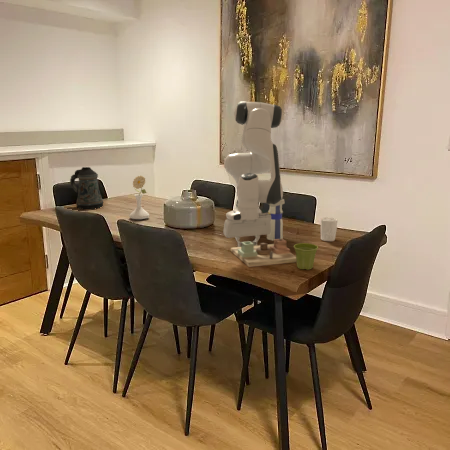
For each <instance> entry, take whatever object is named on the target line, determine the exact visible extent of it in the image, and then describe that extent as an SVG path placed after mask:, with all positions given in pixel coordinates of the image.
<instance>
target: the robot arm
mask: <svg viewBox="0 0 450 450" xmlns="http://www.w3.org/2000/svg"><path fill="white" fill-rule="evenodd" d="M233 115H234V120H235V122H236V124H238V125H242V126H243V129H242V134H241V135H242V136H241V144H242V147H243V148H245V150H248V151H249V152H236V153H235V152H234V153H230V154H227V155H226V157H225V158H224V162H223V167H224V170H225V171H226V172H227V174H229V175H230V176H232V178H233V180H234V182H235V184H236V188H237V190H236V194H237V195H236V197H237V199H236V203H235V208H234V209H233V210H231V211H228V212H226V213H225V216H226V218H225V220H224V223H223V235H224V236H225V237H226V238H227V239H231V238H235V241H236V242H237V247H242V243H241V242H242V241H240V239H241V238H242V237H253V236H254V237H255V238H254V240H252V243H253V244H254V246H257V245H258V242H259V240H260V238H261V236H267V235H268V234H270V233H271V215H270V214H269V213H268V211H267V212H262V210H261V209H260V203H261V204H262V203H264V204H267V205H269V204H276V203H278V202H279V201H280V200H281V199H283V196H284V195H283V194H284V189H283V185H282V181H281V169H280V157H279V152H278V148H277V145H276V144H275V143H273V141H272V137H271V134H272V129H274V128H275V129H276V128H278V127H279V126H280V125H281V122H282V120H283V117H284V115H283V110H282V107H281V105H277V104H272V103H268V102H261V101H246V100H245V101H244V100H243V101H239V102H238V103H237V104H236V106H235V108H234V112H233ZM267 173H270V179H259V176H258V175H263V174H267ZM268 214H269V215H268Z"/></svg>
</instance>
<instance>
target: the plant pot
mask: <svg viewBox="0 0 450 450" xmlns="http://www.w3.org/2000/svg"><path fill="white" fill-rule="evenodd" d="M293 248H294V251H295V256H296V259H297V262H296V266H297V268H298V269H299V270H311V269H313V267H314V263H315V259H316V253H317V250H318V249H319V245H316V244H314V243H308V242H304V243H303V242H299V243H296V244H295V243H294V245H293Z"/></svg>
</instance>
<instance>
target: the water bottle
mask: <svg viewBox="0 0 450 450" xmlns="http://www.w3.org/2000/svg"><path fill="white" fill-rule="evenodd" d="M268 205H269V209H268V211H267V213H269V214H270V215H271V233H270V234H268V235H266V239H267V240H269V241H273V242H274V239H284V237H283V235H284V234H283V229H284V228H283V226H284V224H283V223H284V222H283V221H284V220H283V213H284V211H283V209H282V208H283V205H285V199H284V198H282V199H281V200H280V201H279V202H278V203H276V204H268ZM269 214H268V215H269Z"/></svg>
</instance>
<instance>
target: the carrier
mask: <svg viewBox="0 0 450 450" xmlns="http://www.w3.org/2000/svg"><path fill="white" fill-rule="evenodd" d="M238 249H241V247H238V246H236V247H230V252H231V253H233V254H234V255H235V256H236V257H237V258H238V259H239V260H240V261H241V262H242V263H244V264H245V266H247V267H248V268H250V267H261V266H263V267H264V266H270V265H281V264H290V263H297V259H296V254H295V255H294V254H293V253H292V252H291V249H290V248H289V247H287V240H286V239H284V238H283V239H274V241H273V243H269V244H268V243H267V242H260V243H259V244H257V246H254V250H255V251H256V252H257V256H252V257H242V256H241V255H239V254H238Z"/></svg>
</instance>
